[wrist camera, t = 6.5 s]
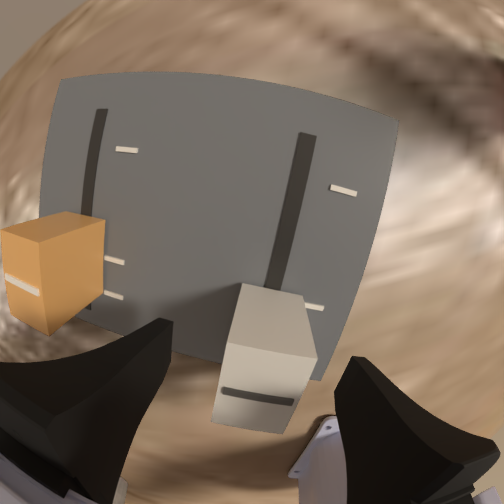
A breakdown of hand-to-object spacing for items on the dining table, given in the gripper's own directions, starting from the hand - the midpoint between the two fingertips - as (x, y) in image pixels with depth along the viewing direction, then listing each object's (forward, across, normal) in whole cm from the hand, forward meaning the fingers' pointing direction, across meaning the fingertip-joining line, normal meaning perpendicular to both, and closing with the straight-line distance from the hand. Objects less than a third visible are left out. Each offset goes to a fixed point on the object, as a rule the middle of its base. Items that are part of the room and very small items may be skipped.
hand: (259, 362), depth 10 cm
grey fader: (+3, 0, 0) cm, 3 cm away
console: (+4, +5, -4) cm, 8 cm away
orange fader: (+3, +10, -1) cm, 10 cm away
